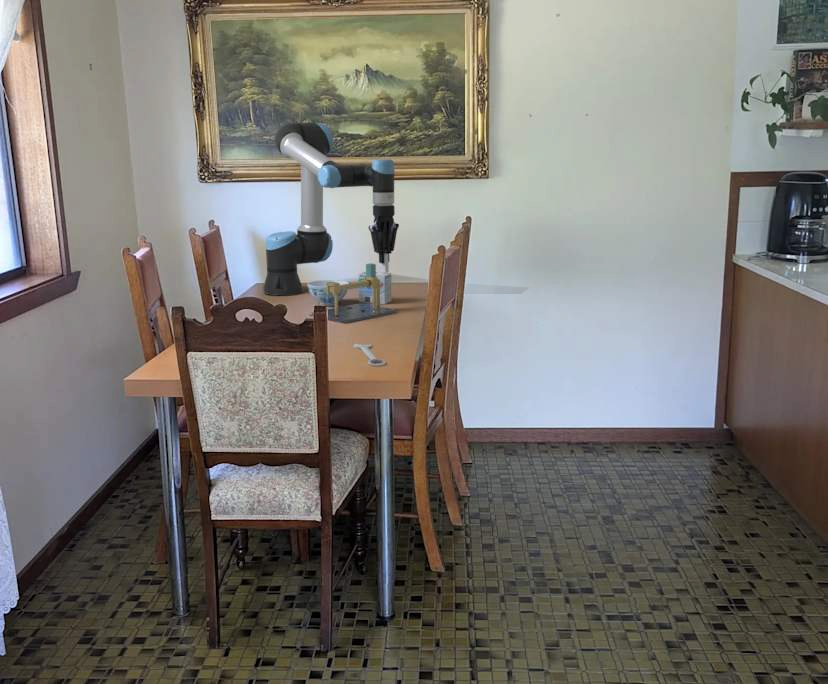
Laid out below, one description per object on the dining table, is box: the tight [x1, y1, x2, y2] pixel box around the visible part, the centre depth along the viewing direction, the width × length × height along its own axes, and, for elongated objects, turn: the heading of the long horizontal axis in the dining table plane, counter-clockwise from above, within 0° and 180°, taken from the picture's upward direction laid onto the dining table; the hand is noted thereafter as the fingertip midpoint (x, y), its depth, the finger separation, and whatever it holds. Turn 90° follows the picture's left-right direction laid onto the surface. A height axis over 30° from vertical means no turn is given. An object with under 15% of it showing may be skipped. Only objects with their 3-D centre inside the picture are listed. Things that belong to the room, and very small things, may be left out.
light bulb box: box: [358, 271, 393, 305], centre depth 316 cm, size 11×7×11 cm, turn 70°
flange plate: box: [311, 302, 397, 324], centre depth 295 cm, size 18×24×1 cm
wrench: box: [353, 343, 387, 367], centre depth 241 cm, size 25×2×5 cm
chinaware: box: [307, 279, 349, 307], centre depth 312 cm, size 15×15×8 cm
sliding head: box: [365, 262, 377, 308], centre depth 299 cm, size 4×2×15 cm, turn 46°
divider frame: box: [326, 279, 381, 316], centre depth 295 cm, size 4×22×11 cm, turn 136°
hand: (384, 271), depth 303 cm, fingers closed
